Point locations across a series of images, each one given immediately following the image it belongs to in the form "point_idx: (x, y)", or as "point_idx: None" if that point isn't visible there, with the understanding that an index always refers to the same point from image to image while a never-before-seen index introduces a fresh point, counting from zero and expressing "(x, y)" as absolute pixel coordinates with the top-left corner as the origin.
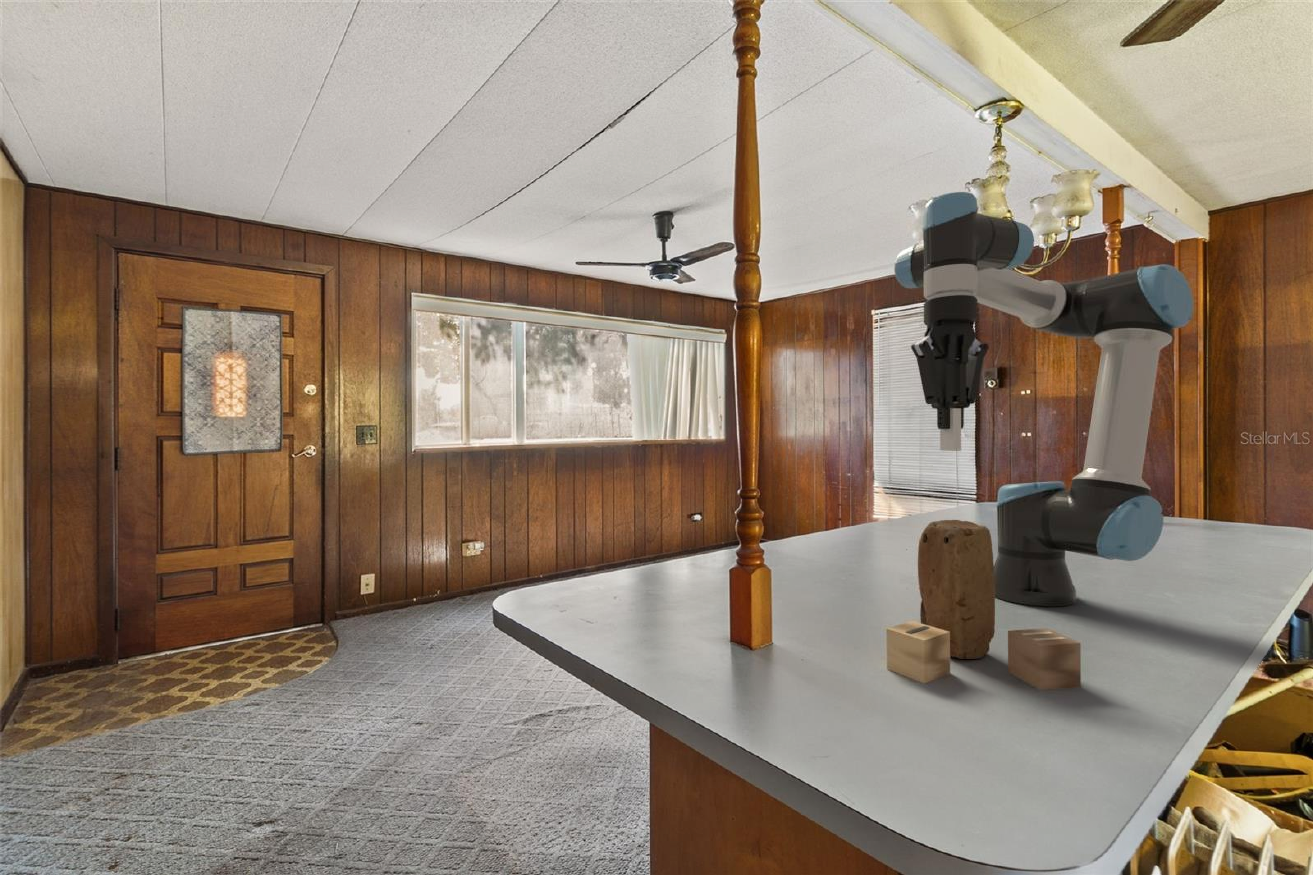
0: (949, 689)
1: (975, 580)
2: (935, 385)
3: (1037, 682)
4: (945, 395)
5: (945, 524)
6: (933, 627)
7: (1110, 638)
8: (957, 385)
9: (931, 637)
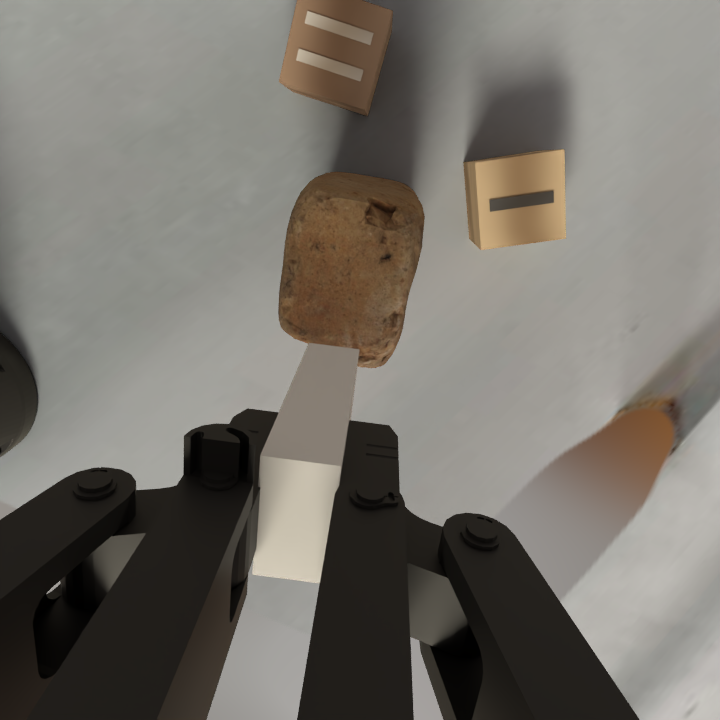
0: (526, 110)
1: (374, 184)
2: (574, 657)
3: (390, 33)
4: (405, 563)
5: (369, 303)
6: (480, 198)
7: (32, 141)
8: (201, 642)
9: (535, 155)
